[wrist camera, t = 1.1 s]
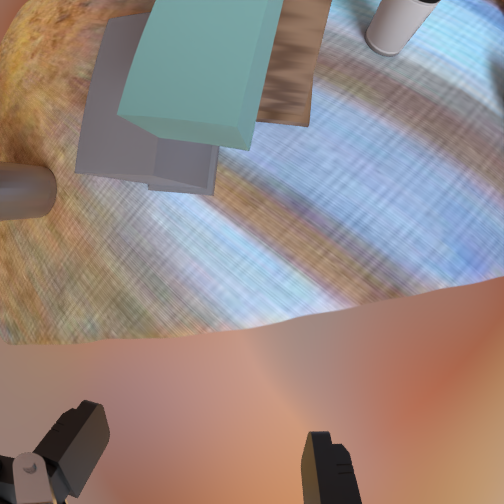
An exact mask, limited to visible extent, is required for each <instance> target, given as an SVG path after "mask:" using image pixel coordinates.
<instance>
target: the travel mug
mask: <svg viewBox="0 0 504 504" xmlns="http://www.w3.org/2000/svg"><path fill="white" fill-rule="evenodd" d="M440 1H441V0H382V1H381V3H380V5H379V7H378V9H377V11H376V13H375V15H374V17H373V19H372V21H371V23H370V25H369V27H368V29H367V31H366V34H365V39H366V42H367V44H368V45H369V47H370V48H371V49H372V50H373V51H375V52H376V53H378V54H380V55H382V56H387V57H392V56H395V55H397V54H398V53H399V52H400V51H401V50H402V49H403V47H404V46H405V45H406V44H407V42H408V41H409V40H410V38H411V37H412V36H413V35H414V33H415V32H416V31H417V30H418V28H419V27H420V26H421V25H422V23H423V22H424V21H425V19H426V18H427V17H428V16H429V14H430V13H431V12H432V11H433V9H434V8H435V7H436V6H437V4H438V3H439V2H440Z"/></svg>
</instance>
